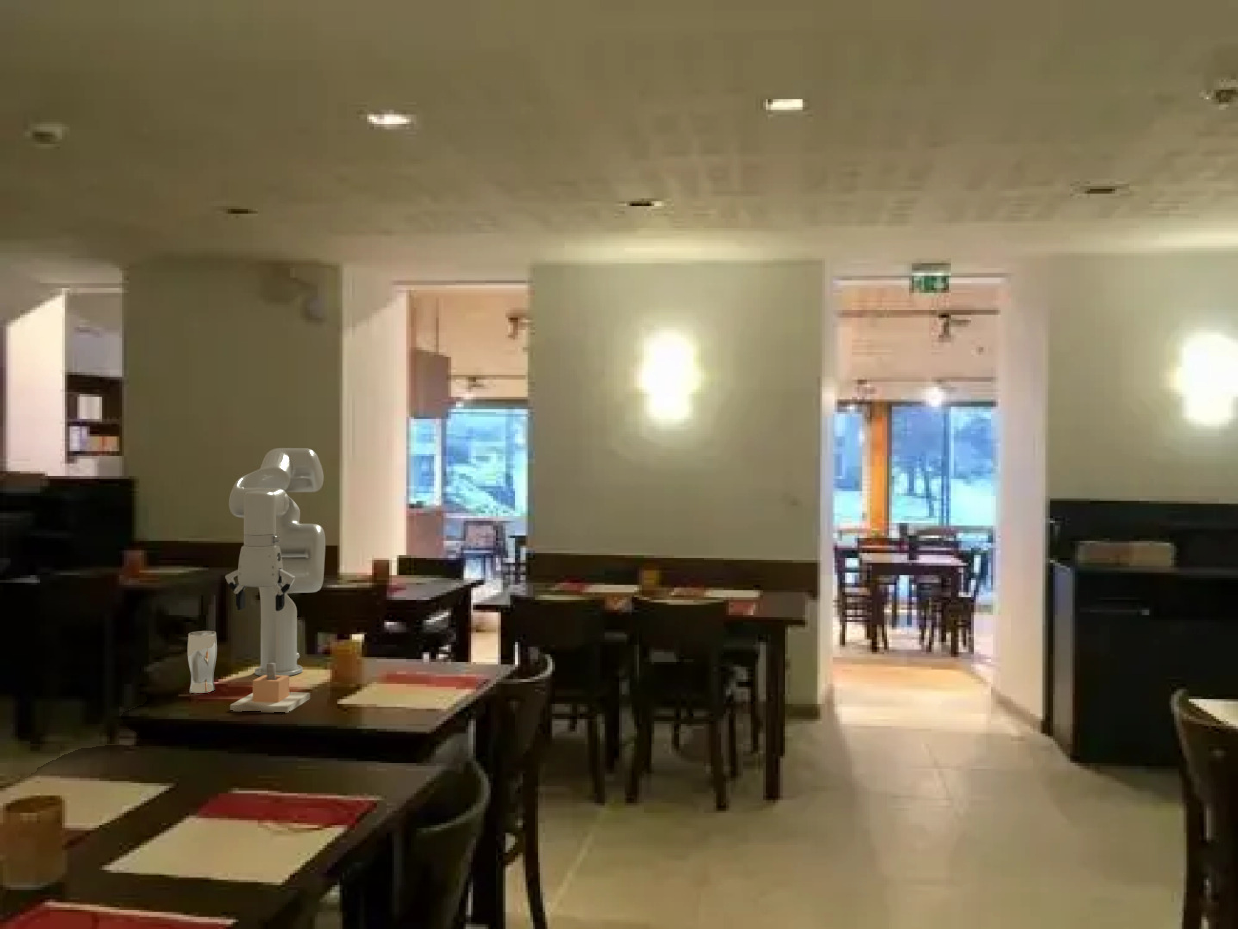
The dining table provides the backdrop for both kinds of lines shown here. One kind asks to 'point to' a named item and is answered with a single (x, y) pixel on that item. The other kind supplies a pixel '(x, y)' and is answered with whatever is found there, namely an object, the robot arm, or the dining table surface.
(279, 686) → the orange square block
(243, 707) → the white peg stand
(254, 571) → the robot arm
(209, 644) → the beer glass
